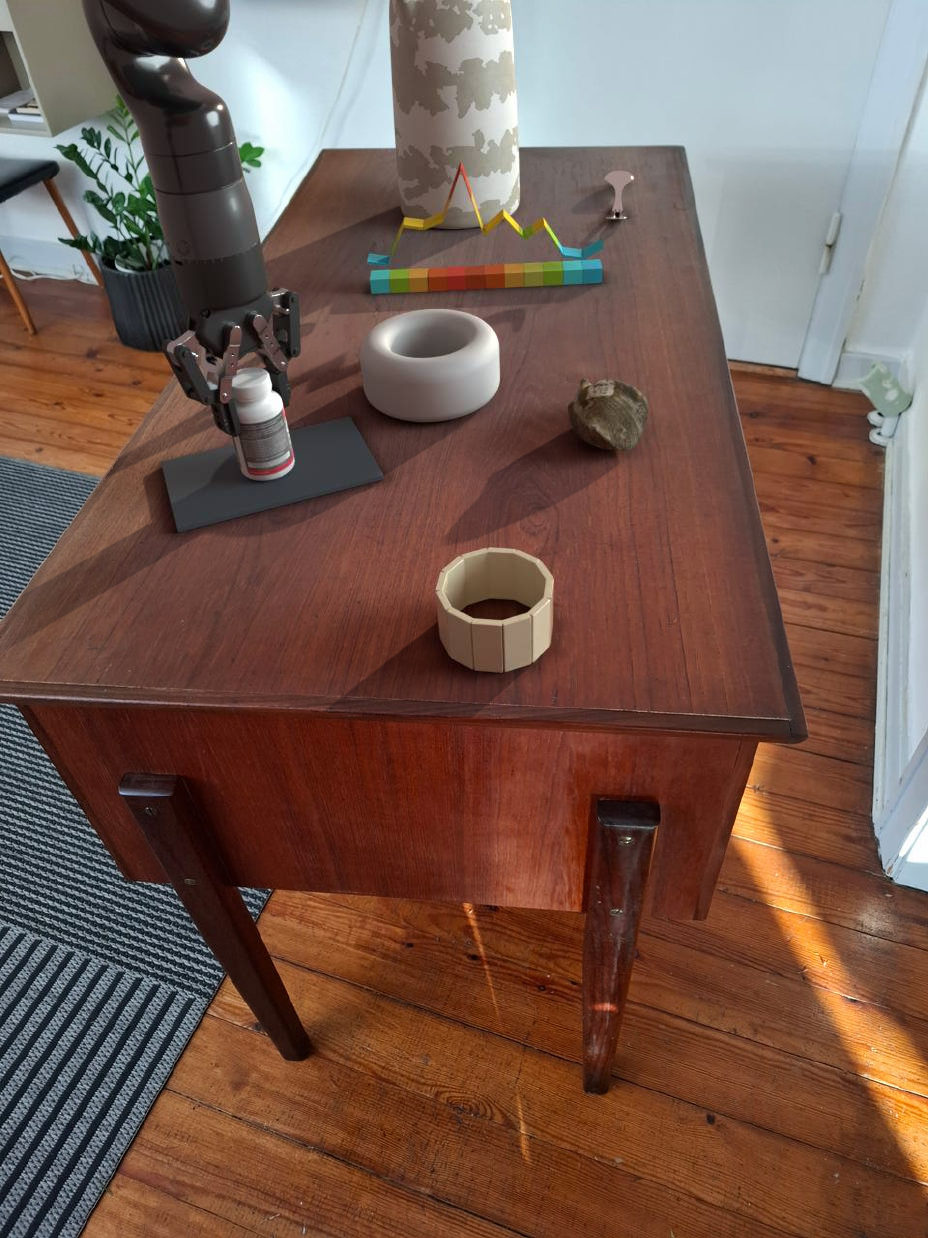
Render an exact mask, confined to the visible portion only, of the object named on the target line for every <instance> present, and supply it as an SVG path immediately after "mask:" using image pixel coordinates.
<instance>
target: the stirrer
mask: <svg viewBox="0 0 928 1238" xmlns="http://www.w3.org/2000/svg"><path fill="white" fill-rule="evenodd" d="M603 179H604V181H606V182H607V183H608V184H610V185H611V186H612V187H613V188H614V192H615V193H614V194H615V197H614V203H613V207H612V210H611V212H610V213H609V214H608V215H606V216H605V217H604V218H605V219H606V220H629V219H630V216H628V215H627V214H626V213H625V211H624V209H623V204H622V203H623V202H622V193H623V190H624V188H625V187H626V186H627V185H628V184H630V183H631V182H632V181H634V180H635V176H634V175H633V174H632V173H631V172H629V171H626V170H614V171H611V172H609V173H607V174H606V175H605V176H604V178H603ZM616 214H619V216H616Z"/></svg>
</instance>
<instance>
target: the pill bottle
mask: <svg viewBox="0 0 928 1238" xmlns="http://www.w3.org/2000/svg"><path fill="white" fill-rule="evenodd" d="M271 389H272V383H271V380H270V376H269V373H268V372H267V371H266V370H264V369H263V368H261V367H244V368H240V369H237V374H236V376H235V377H234V378H233V379H232V391H231V399H233V400H234V402H235V406H236V410H237V413H238V417H239V421H240V425H241V429H242V434H240V435H239V436H237V437H233V436H231V439H232V442H233V444H234V447H235V450H236V454H237V458H238V461H239V465H240V468H241V471H242V473H243V474H244V475H245V476H246V477H248V478H250V479H253V480H260V481H265V480H273V479H277V478H279V477H282V476H284V475H285V474H287V473H288V472H289V471H290V470H291V469H292V468H293V466H294V462H295V460H294V455H293V449H292V445H291V440H290V435H289V431H290V430H289V425H288V422H287V419H286V418H287V417H286V412H285V408H284V407H283V403H282V399H281V397H280V396H279V394H278V393H276V392H275V391H273V390H271Z"/></svg>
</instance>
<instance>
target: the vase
mask: <svg viewBox="0 0 928 1238" xmlns="http://www.w3.org/2000/svg"><path fill="white" fill-rule="evenodd" d="M388 4H389V5H388V28H389V29H388V30H389V52H390V71H391V73H390V74H391V93H392V112H393V127H394V128H393V130H394V142H395V143H394V144H395V145H394V146H395V157H396V170H397V180H398V181H397V182H398V193H399V204H400V210H401V212H402V214H403V216H404V217H407V218H415V219H423V220H425V219H427V218H429V217H432V216H434V215H437V214H439V213H441V212H444V208H445V205H446V202H447V200H448V197H449V194H450V191H451V188H452V185H453V182H454V179H455V176H456V173H457V170H458V167H459V164H460V161H461V162H462V165H463V168H464V171H465V174H466V177H467V180H468V183H469V186H470V189H471V192H472V194H473V197H474V200H475V203H476V206H477V209H478V212H479V215H480V218H481V221H482V224H483V227H484V226H485V225H486V224H487V223H488V222H489V221H491V220H492V219H493V218H494V217H495V216H496V215H497V214H498V213H499V212H500V211H501V210H502V209H504V210H505V211H506V212H507V213H508V214H509V215H510V216H512V215H513V214H514V213H516V211H517V210H518V208H519V206H520V201H521V185H520V183H521V182H520V144H519V143H520V141H519V119H518V117H519V116H518V99H517V97H518V96H517V82H516V65H515V48H514V47H515V45H514V33H513V32H514V31H513V18H512V17H513V16H512V15H513V14H512V5H511V0H389V1H388ZM503 220H504V212H503ZM479 227H480V225H479V222H478V219H477V216H476V213H475V210H474V207H473V204H472V201H471V198H470V195H469V193H468V190H467V187H466V184H465V181H464V178H463V175H462V172H461V171H460V174H459V177H458V180H457V183H456V186H455V189H454V192H453V195H452V198H451V200H450V203H449V206H448V209H447V212H446V215H445V218H444V221H443V222H442V223H440V224H438V225H435V226H433V227H431V228H433V229H442V230H461V229H474V228H479Z"/></svg>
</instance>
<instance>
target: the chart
mask: <svg viewBox="0 0 928 1238" xmlns="http://www.w3.org/2000/svg"><path fill="white" fill-rule="evenodd" d="M460 171H461V172H462V175H463V178H464V181H465V184H466V187H467V190H468V193H469V195H470V198H471V201H472V204H473V207H474V210H475V213H476V216H477V219H478V222H479V225H480V228H479V229H480V230H481V233H482V236H483V238H485V237H486V236H487V235H489V234H490V233H491V232H492V231H493V230H494V229H495V228H496V227H497V226H498V225H500V223H502V221H504V222H506V223H507V225H509V226H510V227H511V229H512V230H513V231H514V232H515V233H516V234H517V235H518V236H519V237H520V238H521V239H522V240H523V241H527V240H528V239H529V238H531V237H533V236H534V235H536V234H537V233H538V232H540V231H542V230H543V229H544V231H546V233H547V234H548V236H549V238H550V239H551V241H552V242H553V244H554V245H555V247H556V249H557V250H558V252H559V253H560V254H561V256H562V257H563V259H569V260H563V261H559V260H558V261H542V262H541V261H540V262H523V263H522V262H521V263H519V262H518V263H502V264H499V263H498V264H483V265H463V266H444V267H443V266H442V267H441V266H439V267H429V268H428V267H426V268H425V267H422V268H420V267H419V268H400V269H399V268H397V269H376V270H371V271H370V276H369V286H370V293H371V295H377V294H400V293H401V294H402V293H425V292H443V291H444V292H447V291H463V290H464V291H467V290H487V289H506V288H525V287H544V286H545V287H546V286H565V285H566V286H567V285H582V284H584V285H586V284H587V285H588V284H602V283H603V270H604V269H603V264H602V262H601V259H598V258H597V259H588V258H591V256H594V255H595V254H597V253H599V252H601V251H602V250H604V242H603V240H602V238H599V239H597V240H596V241H594V242H592V243H590V244H589V245H587V246H585V247H583V248H582V249H581V248H575V247H574V248H573V247H566V246H562V244H561V243H560V241H559V239H558V238H557V237H556V235H555V233H554V232H553V230H552V229H551V227H550V226H549V224H548V222H547V221H546V220H545V218H544V217H543V216H542V217H540V218H539V219H538V220H536V221H535V222H533V223H531V224H530V225H529V226H527V227H526V228H524V229H523V228H522V227H521V226H520V225H519V224H518V222H517V221H516V220H514V218H513V217H512V215H509V214H508V213H507V212H506V211H505V210H504V209H502V210H501V211H500V212H499V213H498V214H497V215H496V216H495V217H494V218H493V219H492V220H491V221H489V222H488V223H487V224H486V225H484V226H483V224H482V221H481V218H480V215H479V212H478V209H477V206H476V203H475V200H474V197H473V194H472V192H471V189H470V186H469V183H468V180H467V177H466V174H465V171H464V168H463V165H462V162H461V161H460V164H459V167H458V170H457V173H456V176H455V179H454V182H453V185H452V188H451V191H450V194H449V197H448V200H447V202H446V205H445V208H444V212H441V213H439V214H437V215H434V216H432V217H429V218H427V219H425V220H423V219H415V218H407V217H405V216H404V218H403V220H402V223H401V225H400V227H399V229H398V233H397V235H396V237H395V239H394V242H393V245H392V247H391V249H390V251H389V254H388V255H383V254H375V253H368V256H367V265H370V266H378V267H387V268H388V267H389V265H390V262H391V260H392V258H393V255H394V253H395V250H396V248H397V245H398V243H399V241H400V238H401V236H402V233H403V230H404V229H409V230H419V231H425V230H429V229H430V228H432V227H433V226H435V225H438V224H440V223H442V222H443V221H444V218H445V215H446V212H447V209H448V206H449V203H450V200H451V198H452V195H453V192H454V189H455V186H456V183H457V180H458V177H459V174H460ZM503 212H504V219H503ZM570 259H572V260H570Z"/></svg>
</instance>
